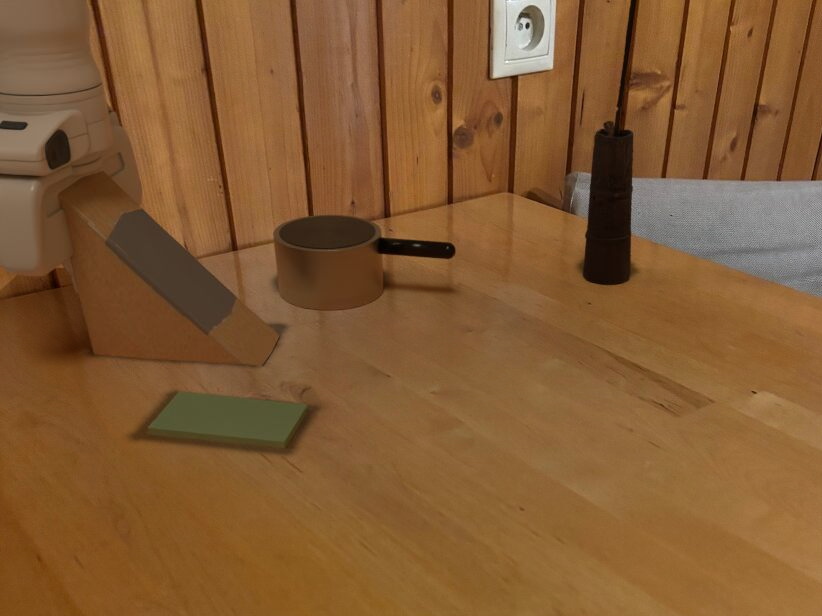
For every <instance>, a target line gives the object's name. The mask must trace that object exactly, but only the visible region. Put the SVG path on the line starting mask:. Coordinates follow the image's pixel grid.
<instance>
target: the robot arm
mask: <svg viewBox="0 0 822 616" xmlns="http://www.w3.org/2000/svg"><path fill="white" fill-rule="evenodd" d="M90 32H91V15H90V10H89V4H88V1H87V0H0V266H1V267H2V268H3V270H5V271H6V272H7V273H8V274H11V275H16V276H25V277H26V276H27V277H45V276H47V275H48V274H50V273H51V272H52V271H54V270H55V269H56V268H58V267H59V266H60V265H62V267H63V268H64V270H65V271H66V272H67V273H68V275H69V276H70V278H71V282H72V287H73V291H74V292H75V293H76V294H78V290H77V286H76V282H75V278H74V274H73V270H72V266H71V262H70V257H71V256H73V246H72V242H71V238H70V234H69V230H68V226H67V221H66V217H65V213H64V209H63V208H60V203H59V199H58V194H59V192H61V191H62V190H64V189H65V188H67V187H68V186H70V185H71V184H73V183H74V182H76V181H77V180H79V179H80V178H82V177H85V176H88V175H91V174H94V173H97V172H101V171H104V172H105V173H106V174H107V175H108V176H109V177H110V178H111V179H112V180H113V181H114V182H115V183H116V184H117V185H118V186H120V187H121V188H122V189H123V190H124V191H125V192H126V193H127V194H128V195H129V196H130V197H131V198H132V199H133V200H134V201H135V202H136V203H137V204H138V205H139V206H140V207H141V205H142V201H143V186H142V182H141V181H142V180H141V176H140V172H139V167H138V164H137V161H136V157H135V153H134V149H133V145H132V142H131V140H130V137H129V134H128V133H127V131H126V129H125V128H124V127H123V126H121V125H120V121H119V117H118V114H117V112H116V111H114V109H113V108H112V107H111V106H110V105H109V103H107V97H106V92H105V88H104V87H105V86H104V83H103V82H104V81H103V77H102V74H101V71H100V69H99V67H98V65H97V62H96V60H95V57H94V55H93V52H92V47H91V39H90V36H91V35H90V34H91V33H90ZM78 295H79V294H78Z"/></svg>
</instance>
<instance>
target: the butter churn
mask: <svg viewBox="0 0 822 616" xmlns="http://www.w3.org/2000/svg"><path fill="white" fill-rule="evenodd" d="M636 8H637V0H630V5H629V9H628V20H627V25H626V32H625V41H624V42H625V43H624V49H623V50H624V51H623V52H624V54H623V61H622V69H621V75H620V83H619V84H620V85H619V89H618V97H617V101H616V108H617V110H616V112H615V117H614V121H612V120H606V121H605V122H603V124H602V125H603V128H600V129H599V130H596V131H595V134H594V137H593V148H592V160H591V172H590V183H589V198H588V207H587V208H588V209H587V210H588V211H587V224H586V225H587V226H586V231H585V234H584V239H585V245H584V246H585V247H584V259H583V270H582V277H583V278H584V279H585V280H586V281H588V282H590V283H595V284H602V285H617V284H622V283H624V282H626V281H627V280H629V279H630V276H631V260H632V259H631V258H632V255H631V254H632V211H633V208H632V205H633V201H632V200H633V191H634V186H633V173H634V171H633V163H634V132H633V131H632V130H630V129H620V127H621V125H620V124H621V117H622V111H623V103H624V102H623V101H624V97H625V96H624V94H625V88H626V87H625V85H626V78H627V71H628V64H629V56H630V51H631V42H632V36H633V27H634V21H635V13H636Z"/></svg>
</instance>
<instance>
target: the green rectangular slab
mask: <svg viewBox="0 0 822 616" xmlns="http://www.w3.org/2000/svg"><path fill="white" fill-rule="evenodd" d="M308 413H309V404H308V403H299V402H288V401H278V400H269V399H259V398H250V397H249V398H247V397H237V396H229V395H228V396H226V395H217V394H207V393H197V392H186V391H178V392H177V393H176V394H175V396H174V397H172V399H171V400H170V401H169V403H168V404H167V405H165V407H164V408H163V409H162V410H161V412H160V413H159V414H158V415H157V416H156V417H155V419H153V420H152V422H151V423H150V424H149V426H148V427H147V430H148V434H149V435H151V436H152V435H153V436H162V437H172V438H180V439H191V440H199V441H208V442H209V441H210V442H218V443H219V442H220V443H221V442H222V443H226V444H227V443H228V444H239V445H245V446H246V445H247V446H255V447H256V446H258V447H267V448H276V449H286V448H287V447H288V446H289V444H290V442H291V440H292V439H293V437H294V435H295V434H296V432H297V431H298V429H299V427H300V426H301V425H302V423H303V421H304V419H305V418H306V416H307V415H308Z"/></svg>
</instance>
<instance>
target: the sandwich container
mask: <svg viewBox="0 0 822 616" xmlns="http://www.w3.org/2000/svg"><path fill="white" fill-rule="evenodd" d="M58 199H59V203H60V208H63V209H64V213H65V217H66V221H67V226H68V230H69V234H70V238H71V242H72V246H73V256H71V257H70V262H71V266H72V270H73V274H74V278H75V282H76V286H77V290H78V297H79V301H80V305H81V310H82V313H83V318H84V320H85V324H86V325H85V326H86V329H87V333H88V337H89V342H90V345H91V349H92V352H93V354H94V355H100V356H112V357H125V358H133V359H135V358H136V359H147V360H164V361H182V362H197V363H198V362H199V363H201V362H202V363H216V364H217V363H218V364H235V365H249V366H260V367H262V366H263V365H264V364H265V363H266V361H267V360H268V358H269V357H270V356H271V354H272V353H273V351H274V349H275V346H276V345H277V342H278V341H279V339H280V334H279V333H278V332H276V331H275V330H274V329H273V328H272V327H271V326H270V325H269V324H268V323H267V322H265V321H264V320H263V319H262V318H261V317H259V316H258V315H257V314H256V313H255V311H253V310H252V309H251V308H250V307H249V306H248V305H247V304H246V303H244V302H243V301H242V300H241V299H240V298H239V297H238V296H236V295H235V294H234V293H233V292H232V291H231V290H230V289H229V288H228V287H227V286H225V284H224V283H223V282H221V281H220V280H219V279H218V278H217V277H216V276H215V275H213V273H211V271H209V270H208V269H207V267H205V266H204V265H203V264H202V263H201V262H200V261H199V260H198V259H197V258H196V257H194V255H193V254H191V253H190V252H189V250H188V249H186V248H185V247H184V246H183V245H182V244H181V243H180V242H179V241H178V240H176V238H174V237H173V236H172V235H171V234H170V233H169V232H168V231H166V230H165V228H163V227H162V225H160V224H159V223H158V222H157V221H156V220H155V219H154V218H153V217H152V216H151V215H150V214H149V213H148V212H147V211H145V209H143V207H141V206H139V205H138V204H137V203H136V202H135V201H134V200H133V199H132V198H131V197H130V196H129V195H128V194H127V193H126V192H125V191H124V190H123V189H122V188H121V187H120V186H118V185H117V184H116V183H115V182H114V181H113V180H112V179H111V178H110V177H109V176H108V175H107V174H106V173H105V172H104V171H101V172H97V173H94V174H91V175H88V176H85V177H82V178H80V179H79V180H77V181H76V182H74V183H73V184H71V185H70V186H68V187H67V188H65V189H64V190H62V191H61V192H59V194H58Z"/></svg>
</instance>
